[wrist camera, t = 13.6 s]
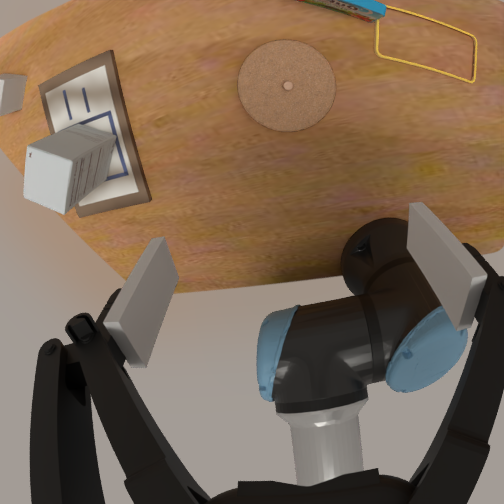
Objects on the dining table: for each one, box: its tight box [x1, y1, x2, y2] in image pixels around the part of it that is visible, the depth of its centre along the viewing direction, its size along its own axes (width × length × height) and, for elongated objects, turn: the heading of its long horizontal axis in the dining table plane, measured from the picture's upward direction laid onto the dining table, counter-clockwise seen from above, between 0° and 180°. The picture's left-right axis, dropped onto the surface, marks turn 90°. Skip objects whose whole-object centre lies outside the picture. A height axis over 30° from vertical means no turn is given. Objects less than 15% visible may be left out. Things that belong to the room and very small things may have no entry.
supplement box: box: [24, 124, 117, 215], centre depth 35 cm, size 7×7×13 cm
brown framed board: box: [38, 50, 152, 218], centre depth 40 cm, size 24×14×1 cm, turn 10°
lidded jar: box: [237, 40, 336, 132], centre depth 33 cm, size 11×11×9 cm
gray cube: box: [0, 74, 27, 116], centre depth 33 cm, size 6×6×6 cm
